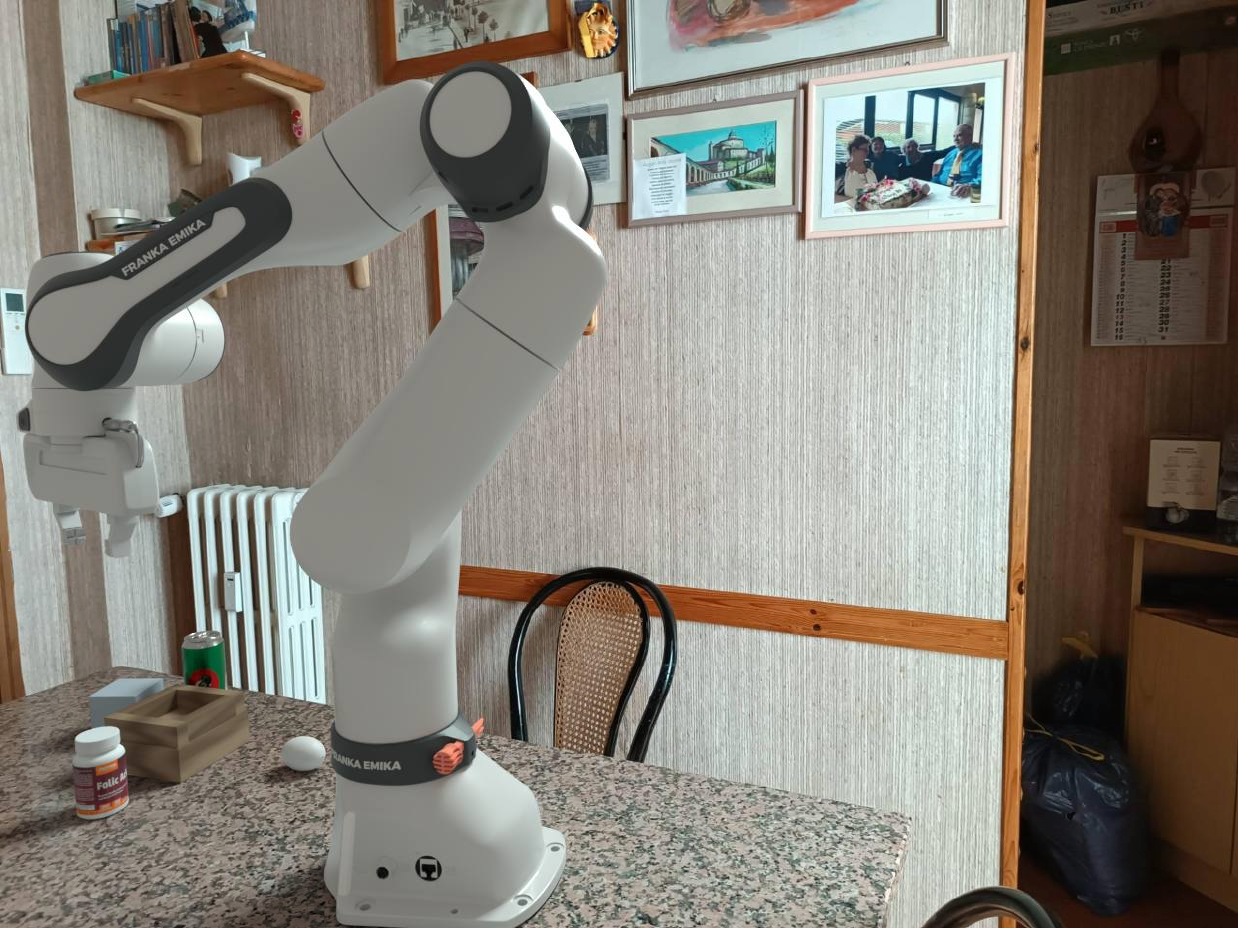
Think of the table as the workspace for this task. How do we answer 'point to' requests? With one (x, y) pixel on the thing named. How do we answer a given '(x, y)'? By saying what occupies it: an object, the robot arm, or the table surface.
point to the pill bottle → (100, 773)
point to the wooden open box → (180, 731)
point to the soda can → (204, 660)
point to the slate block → (120, 697)
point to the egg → (303, 753)
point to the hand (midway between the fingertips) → (95, 550)
